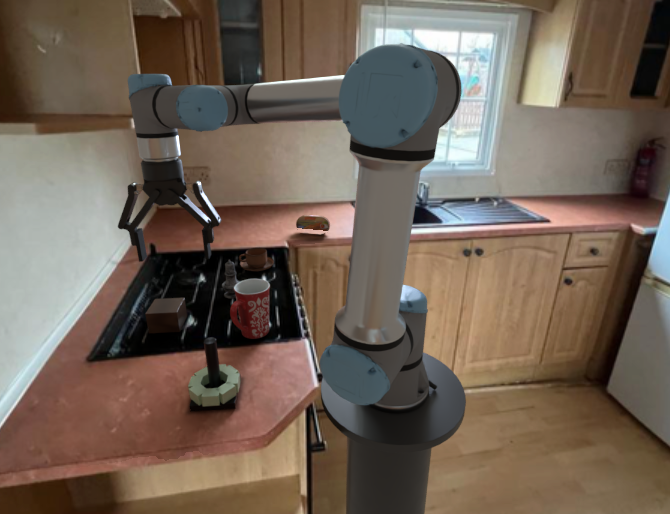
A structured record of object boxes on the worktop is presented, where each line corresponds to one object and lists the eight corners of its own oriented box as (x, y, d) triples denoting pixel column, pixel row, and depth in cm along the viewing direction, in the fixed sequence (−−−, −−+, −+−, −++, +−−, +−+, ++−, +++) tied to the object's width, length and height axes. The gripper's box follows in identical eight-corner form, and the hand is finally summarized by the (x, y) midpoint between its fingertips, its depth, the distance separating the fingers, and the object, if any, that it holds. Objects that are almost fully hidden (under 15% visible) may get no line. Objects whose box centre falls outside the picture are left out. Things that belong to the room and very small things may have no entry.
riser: (187, 316, 116) (184, 297, 114) (179, 331, 109) (176, 312, 107) (158, 317, 116) (154, 298, 114) (148, 333, 108) (145, 313, 106)
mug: (253, 318, 115) (249, 275, 110) (279, 327, 111) (276, 282, 106) (221, 342, 105) (215, 295, 100) (248, 352, 101) (244, 304, 96)
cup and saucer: (245, 276, 140) (243, 260, 138) (237, 264, 150) (235, 248, 148) (278, 270, 145) (277, 254, 143) (268, 258, 155) (267, 243, 153)
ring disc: (242, 371, 92) (241, 363, 91) (236, 404, 82) (235, 394, 81) (196, 374, 91) (195, 365, 90) (185, 407, 81) (183, 398, 81)
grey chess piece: (233, 300, 125) (229, 264, 121) (219, 296, 128) (215, 260, 123) (246, 292, 130) (243, 257, 125) (232, 288, 132) (228, 254, 128)
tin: (296, 233, 181) (295, 215, 178) (298, 231, 184) (297, 213, 181) (329, 236, 178) (328, 217, 175) (330, 233, 181) (330, 215, 178)
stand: (241, 379, 92) (235, 327, 87) (235, 408, 83) (229, 353, 78) (199, 381, 91) (192, 329, 86) (190, 411, 82) (181, 355, 78)
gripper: (228, 154, 85) (237, 249, 93) (103, 156, 83) (122, 253, 90) (222, 160, 78) (232, 262, 86) (85, 162, 76) (107, 267, 83)
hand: (176, 258), depth 88 cm, fingers open, 13 cm apart
